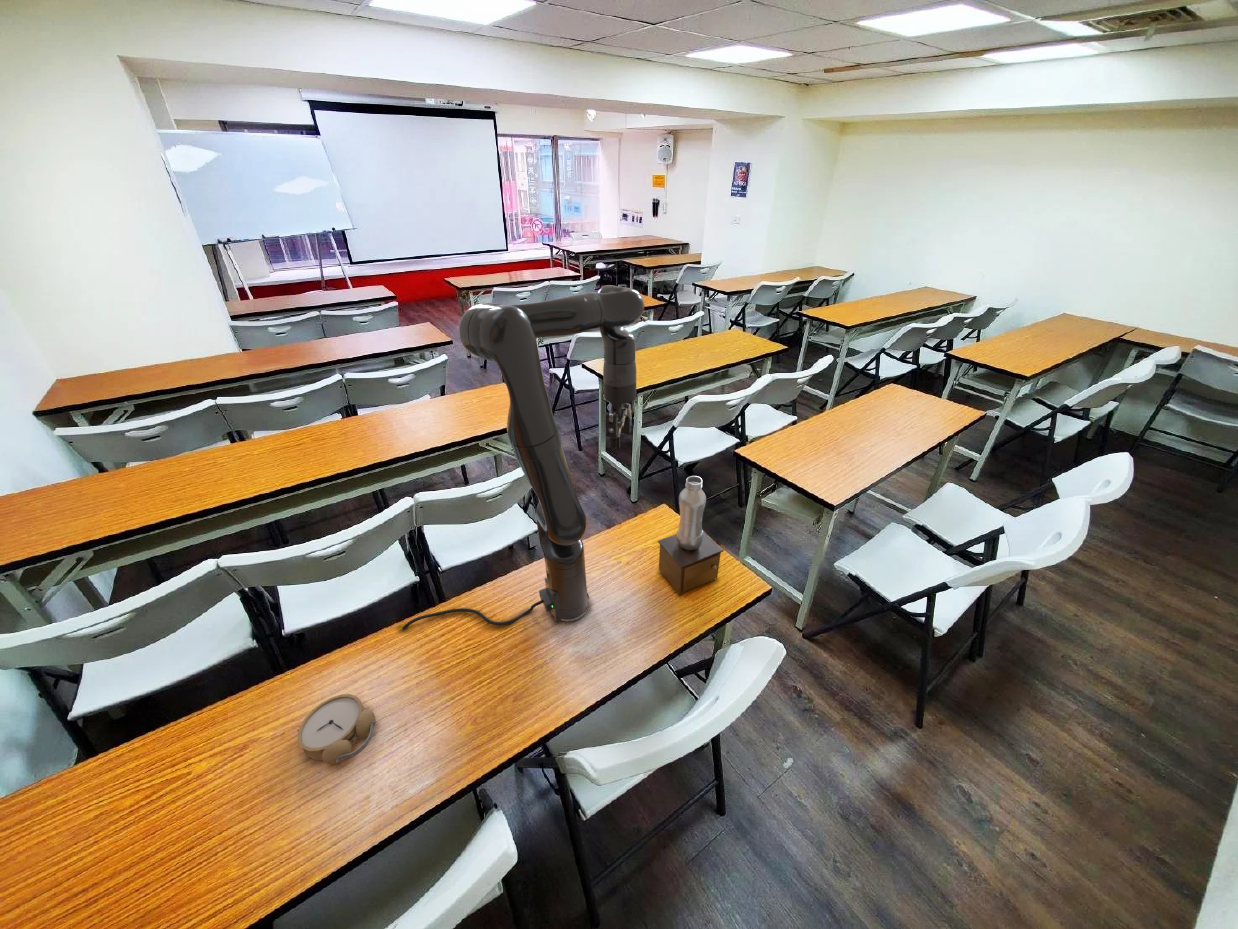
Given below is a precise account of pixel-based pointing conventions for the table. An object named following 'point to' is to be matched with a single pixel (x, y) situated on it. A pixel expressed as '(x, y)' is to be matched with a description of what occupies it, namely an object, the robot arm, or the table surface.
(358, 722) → the alarm clock
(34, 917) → the table surface
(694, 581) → the cabinet
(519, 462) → the robot arm
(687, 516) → the silver metal bottle
